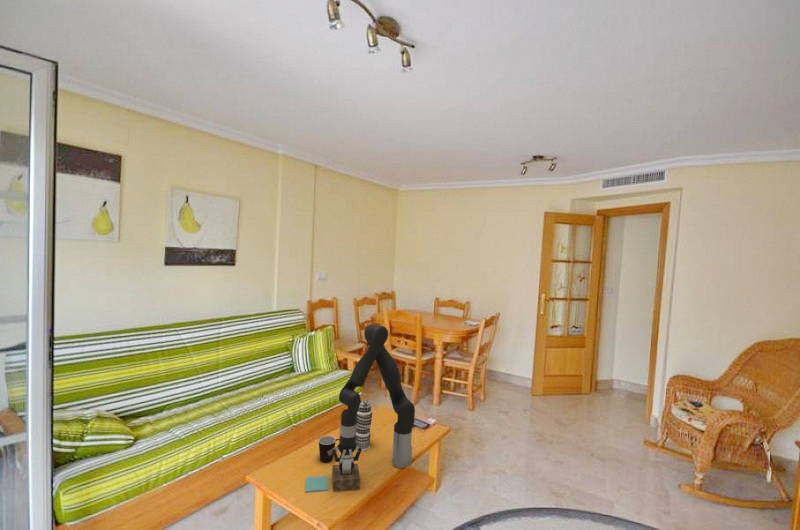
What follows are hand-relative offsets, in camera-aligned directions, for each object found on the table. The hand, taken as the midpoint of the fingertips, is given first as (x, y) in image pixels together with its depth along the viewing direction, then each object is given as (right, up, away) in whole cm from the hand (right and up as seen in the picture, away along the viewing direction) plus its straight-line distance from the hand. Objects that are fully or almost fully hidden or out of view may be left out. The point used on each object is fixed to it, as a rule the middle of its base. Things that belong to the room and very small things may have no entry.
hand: (346, 469), depth 170 cm
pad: (-13, -6, -2) cm, 14 cm away
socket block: (0, -6, 0) cm, 6 cm away
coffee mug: (-11, -5, +18) cm, 22 cm away
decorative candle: (+4, -6, +32) cm, 33 cm away
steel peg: (0, -6, 0) cm, 6 cm away
